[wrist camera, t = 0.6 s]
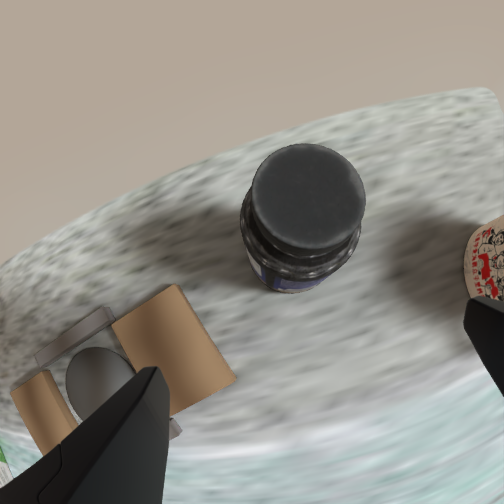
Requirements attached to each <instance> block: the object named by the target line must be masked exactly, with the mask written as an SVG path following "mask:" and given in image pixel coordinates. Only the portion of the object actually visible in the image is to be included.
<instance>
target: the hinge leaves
mask: <svg viewBox="0 0 504 504" xmlns="http://www.w3.org/2000/svg"><path fill="white" fill-rule="evenodd" d="M114 321H116V320H115V318H114V316H113V314H112V312H111V310H110V308H109V307H101V308H99V309H98V310H96V311H95V312H93V313H92V314H91V315H89V316H88V317H86V318H85V319H83V320H82V321H81V322H79V323H78V324H76V325H75V326H73V327H72V328H71V329H69V330H68V331H66V332H65V333H64V334H62V335H61V336H60V337H58V338H57V339H55V340H54V341H53V342H51V343H50V344H48V345H47V346H46V347H44V348H43V349H42V350H40V351H39V352H38V353H36V354H35V355H34V356H35V358H36V360H37V363H38V365H39V367H46V366H49V365H50V364H52V363H53V362H55V361H56V360H58V359H59V358H61V357H62V356H64V355H65V354H66V353H68V352H69V351H71V350H72V349H74V348H75V347H77V346H78V345H80V344H81V343H83V342H84V341H86V340H87V339H89V338H90V337H92V336H93V335H95V334H96V333H98V332H99V331H101V330H102V329H104V328H105V327H107V326H108V325H110V324H111V323H113V322H114ZM111 326H112V328H113V330H114V332H115V334H116V336H117V338H118V340H119V342H120V343H121V345H122V347H123V349H124V351H125V353H126V354H127V356H128V358H129V360H130V362H131V363H132V365H133V367H134V369H135V370H136V372H138V371H140V370H141V369H142V368H143V367H147V366H158V367H159V368H160V370H161V372H162V374H163V376H164V378H165V380H166V383H167V385H168V387H169V390H170V416H172V415H174V414H176V413H178V412H180V411H182V410H184V409H186V408H187V407H189V406H191V405H193V404H195V403H197V402H199V401H201V400H202V399H204V398H206V397H208V396H210V395H212V394H213V393H215V392H217V391H219V390H221V389H222V388H224V387H226V386H228V385H229V384H231V383H233V382H235V380H236V376H235V375H234V373H233V372H232V370H231V369H230V367H229V366H228V364H227V363H226V361H225V360H224V358H223V356H222V355H221V353H220V352H219V350H218V349H217V347H216V346H215V344H214V342H213V341H212V339H211V338H210V336H209V335H208V333H207V331H206V330H205V328H204V327H203V325H202V323H201V322H200V320H199V318H198V317H197V315H196V313H195V312H194V310H193V308H192V307H191V305H190V303H189V302H188V300H187V298H186V297H185V295H184V293H183V292H182V290H181V288H180V286H179V285H177V284H173V285H171V286H170V287H168V288H167V289H165V290H164V291H162V292H161V293H159V294H157V295H156V296H154V297H153V298H151V299H150V300H148V301H147V302H145V303H144V304H142V305H141V306H139V307H138V308H136V309H134V310H133V311H131V312H130V313H128V314H127V315H125V316H124V317H122V318H121V319H119V320H118V321H116V322H115V323H113V324H112V325H111ZM135 374H136V373H135V371H134V370H133V368H132V367H131V366H130V365H129V364H128V363H127V362H126V361H125V360H124V359H123V358H122V357H121V356H119V355H118V354H116V353H115V352H113V351H110V350H108V349H104V348H88V349H85V350H83V351H81V352H80V353H78V354H77V355H76V356H75V357H74V358H73V360H72V361H71V363H70V365H69V367H68V370H67V375H66V388H67V393H68V397H69V400H70V402H71V405H72V407H73V409H74V410H75V412H76V413H77V415H78V416H79V417H80V418H81V419H82V420H83V421H84V420H85V419H87V418H88V417H89V416H90V415H91V414H92V413H93V412H94V411H95V410H97V409H98V408H99V407H100V406H101V405H102V404H103V403H104V402H105V401H107V400H108V399H109V398H110V397H111V396H112V395H113V394H114V393H115V392H116V391H118V390H119V389H120V388H121V387H122V386H123V385H124V384H125V383H126V382H127V381H129V380H130V379H131V378H132V377H133V376H134V375H135ZM10 394H11V396H12V398H13V401H14V403H15V405H16V407H17V409H18V411H19V413H20V415H21V417H22V419H23V421H24V423H25V425H26V427H27V429H28V430H29V432H30V434H31V436H32V438H33V439H34V441H35V443H36V445H37V446H38V448H39V450H40V451H41V453H42V455H43V456H45V455H46V454H47V453H48V452H49V451H50V450H52V449H53V448H54V447H55V446H56V445H57V444H60V442H61V441H62V440H63V439H64V438H65V437H66V436H67V435H69V434H70V433H71V432H72V431H73V430H74V429H75V428H76V427H78V426H79V425H78V423H77V422H76V420H75V418H74V417H73V415H72V413H71V411H70V410H69V408H68V406H67V404H66V402H65V400H64V399H63V397H62V395H61V393H60V391H59V389H58V387H57V385H56V383H55V381H54V379H53V377H52V375H51V373H50V370H48V371H42V372H40V373H39V374H37V375H36V376H34V377H33V378H31V379H30V380H28V381H27V382H25V383H24V384H22V385H21V386H20V387H18V388H17V389H15V390H14V391H12V392H11V393H10ZM181 432H182V429H181V428H180V427H179V425H178V424H177V422H176V421H175V420H174V418H173V419H171V420H170V423H169V440H170V439H173V438H175V437H177V436H179V434H180V433H181Z"/></svg>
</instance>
